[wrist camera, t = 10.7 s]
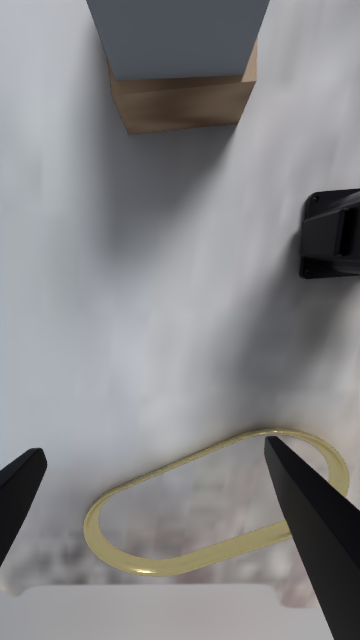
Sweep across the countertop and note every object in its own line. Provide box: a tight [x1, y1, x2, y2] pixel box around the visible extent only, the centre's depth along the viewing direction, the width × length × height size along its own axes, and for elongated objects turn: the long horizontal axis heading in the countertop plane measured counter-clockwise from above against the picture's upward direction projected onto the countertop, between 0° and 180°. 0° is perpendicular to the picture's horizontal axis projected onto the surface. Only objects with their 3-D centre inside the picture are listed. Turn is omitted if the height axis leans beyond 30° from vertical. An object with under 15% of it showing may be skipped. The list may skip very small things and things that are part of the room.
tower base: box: [107, 38, 257, 134], centre depth 12 cm, size 8×8×4 cm
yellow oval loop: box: [83, 428, 349, 577], centre depth 26 cm, size 19×35×2 cm, turn 120°
